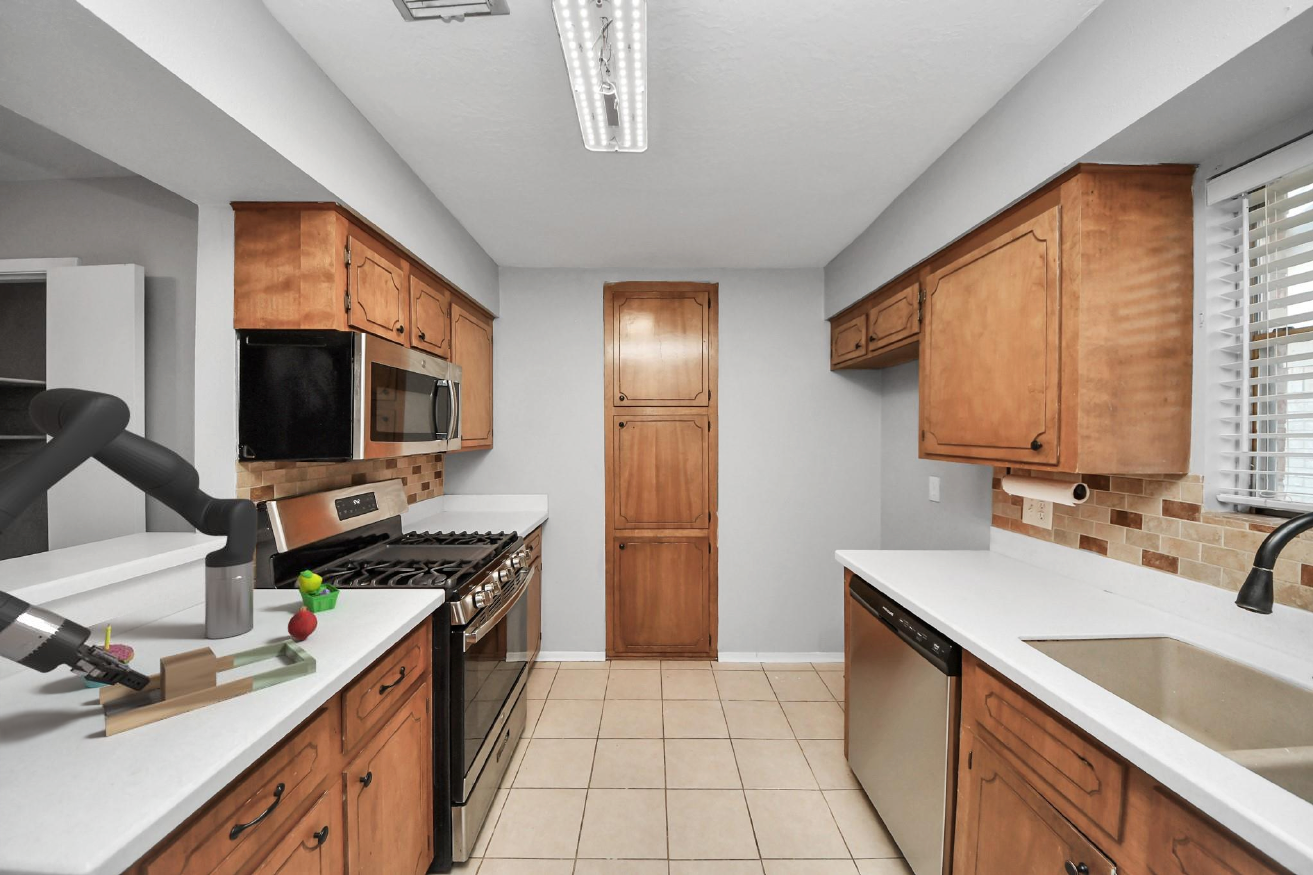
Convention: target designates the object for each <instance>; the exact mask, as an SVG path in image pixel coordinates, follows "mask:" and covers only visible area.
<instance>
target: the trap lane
mask: <svg viewBox="0 0 1313 875" xmlns="http://www.w3.org/2000/svg"><path fill="white" fill-rule="evenodd" d="M282 655H283V656H284V655H286V656H287V657H288V658H289V659H290V660H291V661H292V662H293V663H291V664H289V665H288V664H287V665H284V666H281V667H277V668H274V669H270V670H268V671H264V672H260V673H257V674H254V675H250V676H246V677H243V678H240V679H235V680H233V681H230V682H226V683H222V684H219V685H216V686H215V687H211V688H208V689H205V690H201V691H198V692H194V693H191V694H187V695H184V696H180V697H177V698H173V699H170V700H166V701H163V700H162V701H160V702H157V703H156V702H155V703H153V702H152V701H151V698H150V695H149V693H148V692H150V690H151V691H154V689H155V690H158V689H157V688H159V689H160V672H157V673H153V674H150V675H147V676H148V677H149V679H150V682H149V684H147V685H146V686H145V687H144V688H143V689H142V690H141V691H136V690H133V689H131V688H129V687H126V686H124V685H122V684H119V683H117V684H115V685H105V686H101V687H99V705H103V706H104V708H105V714H106V717H105V736H106V737H110V736H113V735H117V734H119V733H123V732H126V731H130V730H133V729H136V728H140V727H143V726H146V725H149V724H153V723H155V722H158V720H159V721H162V720H164V719H168V717H169V718H172V717H175V716H178V715H181V713H182V714H184V713H188V712H191V711H194V710H198V709H201V708H204V707H207V705H208V706H211V705H214V704H217V703H219V702H218V701H221V702H223V701H222V700H224V701H226V700H225V699H227V700H229V698H230V699H232V698H231V697H234V698H236V697H235V696H236V695H240V696H242V695H241V694H243V695H246V694H245V693H247V692H250V693H252V692H251V691H253V690H256V691H259V690H258V689H260V688H263V689H265V688H264V687H266V686H269V687H271V685H272V686H275V685H274V684H276V685H278V684H277V683H279V684H282V683H284V682H283V681H285V682H288V681H287V680H289V681H291V680H290V679H292V680H294V679H293V678H295V679H298V678H301V677H300V676H302V677H304V675H305V676H307V674H308V675H311V674H314V672H315V673H317V660H316V658H314V657H313V656H312V655H311V654H310V653H308V652H307V651H306V650H305V649H304V648H302V647H301V646H300V645H299V644H298V643H297V642H295V641H294V640H293V639H291V638H289V639H286V640H282V641H279V642H278V641H277V642H273V643H270V644H267V645H262V646H259V647H254V648H251V649H247V650H243V651H239V652H236V653H231V654H227V655H223V656H220V657H216V672H217V673H220V672H223V670H225V671H227V669H228V670H232V669H235V668H238V667H243V666H246V665H249V664H254V663H257V662H262V661H263V660H268V659H271V658H275V657H279V656H282ZM281 682H282V683H281ZM266 688H267V687H266ZM260 690H261V689H260ZM253 692H254V691H253ZM247 694H248V693H247ZM216 702H217V703H216ZM213 703H214V704H213ZM210 704H211V705H210ZM203 706H204V707H203ZM197 708H198V709H197ZM187 711H188V712H187ZM174 715H175V716H174ZM161 719H162V720H161Z"/></svg>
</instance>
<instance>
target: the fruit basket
mask: <svg viewBox="0 0 1313 875" xmlns="http://www.w3.org/2000/svg"><path fill="white" fill-rule="evenodd" d="M299 574H300V575H299V576H298V577H297V582H298V587H299V589H298V591H299V593H300V596H301V599H302V603H303V607H304V606H305V607H307V610H308V611H310V612H312V613H313V614H316V613H320V612H327V611H328V610H329V611H330V610H334V609H335V607H336V604H337V600H338V598H339V595H340V593H341V592H340V591H341V590H340V589H338V588H337V587H335V586H334V585H332V584H330V583H322V582H323V578H322V577H321V576H320V575H318V574H316V573H313V572H312V571H311V570H309V569H307V570H305V571H301V572H299Z"/></svg>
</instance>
